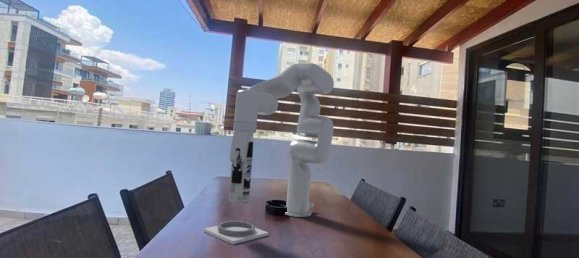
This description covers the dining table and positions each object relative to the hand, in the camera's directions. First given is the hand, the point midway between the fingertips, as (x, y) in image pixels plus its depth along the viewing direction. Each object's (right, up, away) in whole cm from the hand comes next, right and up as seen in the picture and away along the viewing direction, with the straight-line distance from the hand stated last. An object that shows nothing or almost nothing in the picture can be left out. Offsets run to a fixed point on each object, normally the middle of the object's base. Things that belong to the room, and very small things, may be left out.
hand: (240, 181), depth 115 cm
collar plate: (-1, -17, 0) cm, 17 cm away
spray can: (-1, -7, 0) cm, 7 cm away
